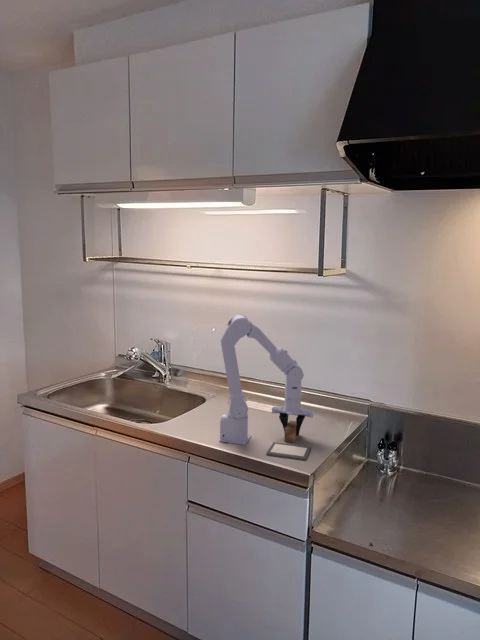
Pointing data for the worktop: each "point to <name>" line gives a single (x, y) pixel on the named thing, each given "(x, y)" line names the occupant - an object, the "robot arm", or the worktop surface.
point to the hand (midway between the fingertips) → (291, 434)
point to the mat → (288, 451)
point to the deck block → (291, 432)
